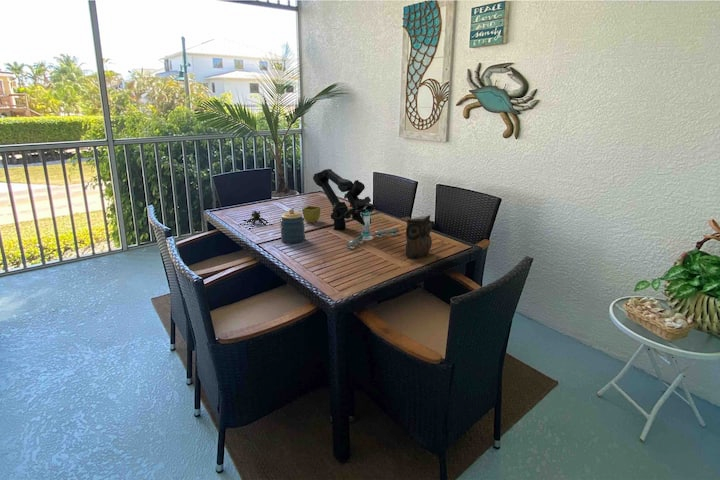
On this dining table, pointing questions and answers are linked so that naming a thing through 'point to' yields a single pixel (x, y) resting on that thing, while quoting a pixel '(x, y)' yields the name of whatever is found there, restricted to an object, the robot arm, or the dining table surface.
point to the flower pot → (311, 213)
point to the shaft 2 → (386, 232)
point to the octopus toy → (256, 217)
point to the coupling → (366, 223)
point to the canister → (292, 227)
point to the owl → (418, 237)
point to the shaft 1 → (357, 240)
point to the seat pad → (367, 238)
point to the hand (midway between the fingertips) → (367, 224)
